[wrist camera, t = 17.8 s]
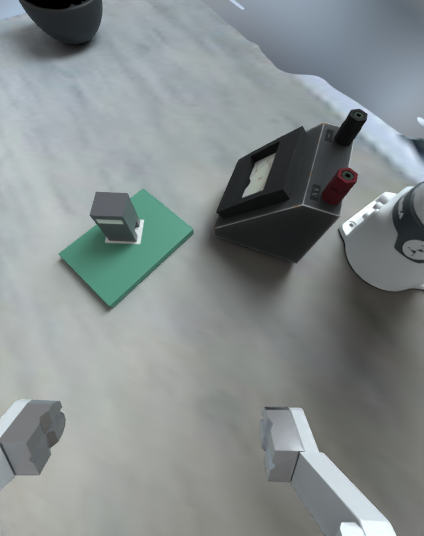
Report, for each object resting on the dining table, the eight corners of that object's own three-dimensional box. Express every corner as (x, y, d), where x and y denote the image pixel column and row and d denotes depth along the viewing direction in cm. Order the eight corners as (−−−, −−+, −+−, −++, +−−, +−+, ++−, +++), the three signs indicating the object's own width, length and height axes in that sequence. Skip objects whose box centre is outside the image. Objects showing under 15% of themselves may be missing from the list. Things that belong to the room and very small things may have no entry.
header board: (144, 193, 50) (143, 187, 48) (193, 233, 46) (193, 228, 45) (63, 257, 44) (58, 253, 42) (112, 308, 40) (109, 306, 39)
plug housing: (140, 221, 45) (127, 193, 38) (136, 242, 43) (122, 217, 36) (113, 220, 45) (96, 191, 38) (109, 241, 43) (89, 215, 36)
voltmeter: (236, 178, 52) (254, 75, 33) (310, 200, 50) (372, 105, 32) (211, 238, 46) (216, 154, 28) (294, 266, 44) (358, 196, 26)
